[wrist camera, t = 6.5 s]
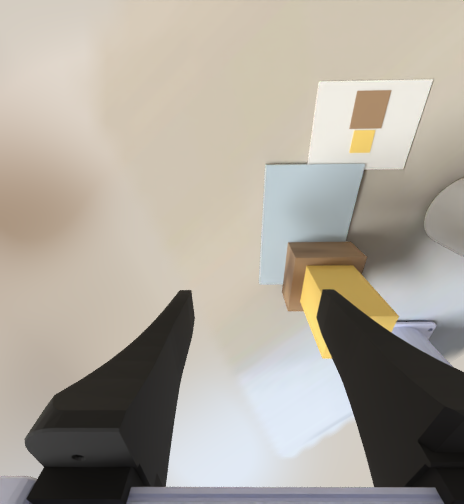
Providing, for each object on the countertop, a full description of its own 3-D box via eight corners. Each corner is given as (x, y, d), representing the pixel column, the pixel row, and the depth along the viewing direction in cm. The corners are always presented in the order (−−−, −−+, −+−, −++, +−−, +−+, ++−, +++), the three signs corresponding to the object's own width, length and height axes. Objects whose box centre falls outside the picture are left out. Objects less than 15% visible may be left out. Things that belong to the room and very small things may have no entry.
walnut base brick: (337, 291, 24) (350, 310, 22) (282, 291, 24) (288, 311, 22) (350, 241, 21) (367, 257, 19) (287, 242, 21) (295, 257, 19)
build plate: (332, 280, 24) (334, 283, 24) (259, 281, 24) (259, 284, 24) (361, 163, 19) (365, 163, 18) (265, 164, 19) (266, 165, 18)
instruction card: (401, 168, 19) (404, 169, 18) (306, 170, 19) (307, 170, 19) (430, 80, 16) (434, 78, 16) (318, 81, 16) (320, 81, 16)
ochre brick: (342, 301, 21) (379, 358, 16) (300, 301, 21) (322, 358, 16) (353, 265, 19) (398, 316, 14) (306, 265, 19) (334, 316, 14)
